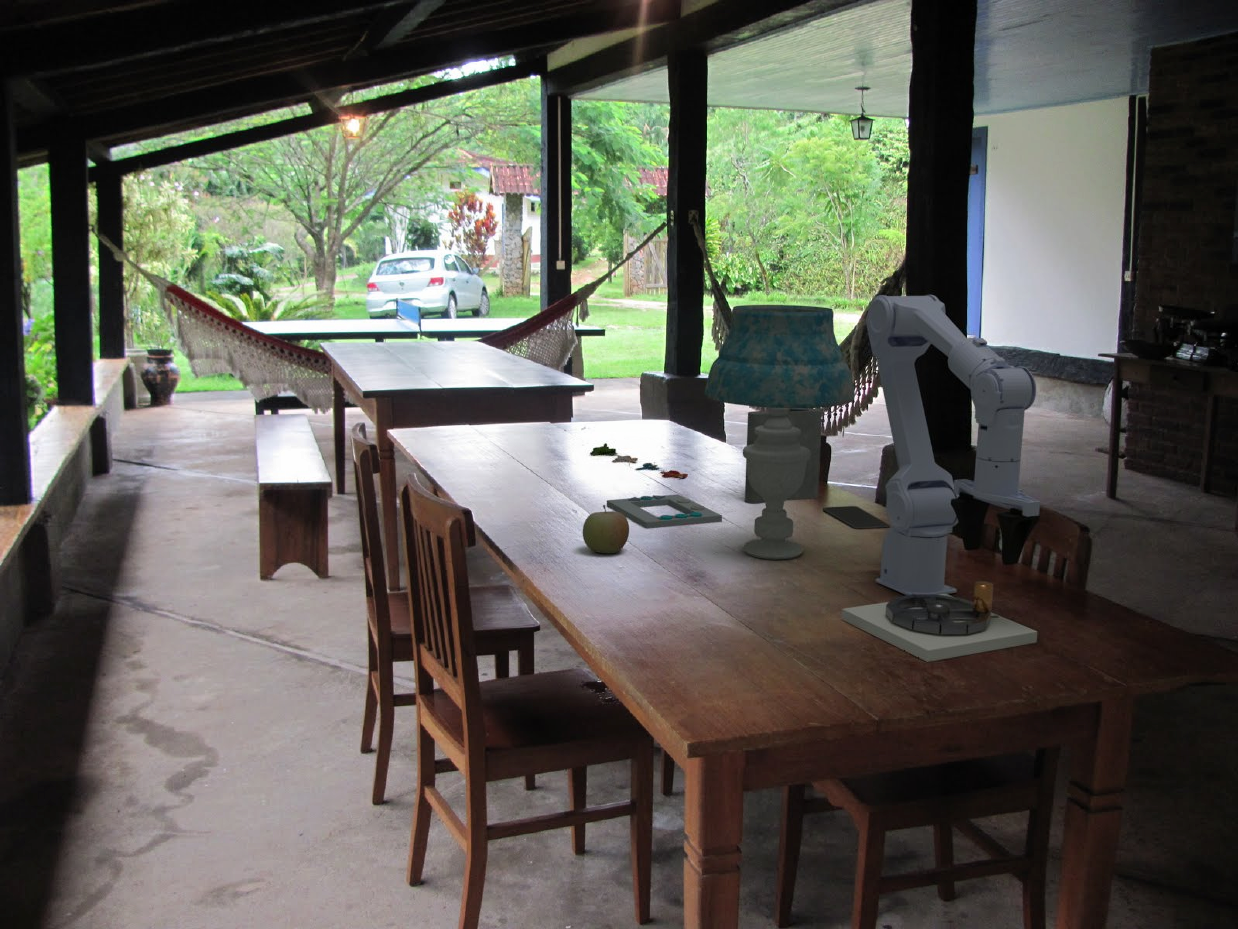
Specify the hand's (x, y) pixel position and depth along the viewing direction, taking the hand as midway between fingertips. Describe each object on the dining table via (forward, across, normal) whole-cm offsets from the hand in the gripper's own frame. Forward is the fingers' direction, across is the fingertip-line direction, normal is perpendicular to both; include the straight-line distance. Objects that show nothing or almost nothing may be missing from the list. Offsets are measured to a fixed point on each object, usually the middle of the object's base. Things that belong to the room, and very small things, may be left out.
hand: (990, 556), depth 167 cm
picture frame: (+10, +73, +13) cm, 74 cm away
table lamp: (+10, +42, +8) cm, 44 cm away
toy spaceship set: (+10, +116, -2) cm, 116 cm away
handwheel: (+8, 0, +8) cm, 11 cm away
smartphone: (+10, +56, -18) cm, 60 cm away
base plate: (+9, 0, +8) cm, 13 cm away
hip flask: (+10, +75, -14) cm, 77 cm away
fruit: (+10, +52, +34) cm, 63 cm away
